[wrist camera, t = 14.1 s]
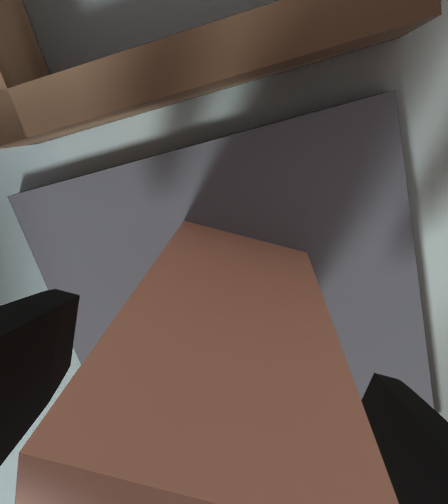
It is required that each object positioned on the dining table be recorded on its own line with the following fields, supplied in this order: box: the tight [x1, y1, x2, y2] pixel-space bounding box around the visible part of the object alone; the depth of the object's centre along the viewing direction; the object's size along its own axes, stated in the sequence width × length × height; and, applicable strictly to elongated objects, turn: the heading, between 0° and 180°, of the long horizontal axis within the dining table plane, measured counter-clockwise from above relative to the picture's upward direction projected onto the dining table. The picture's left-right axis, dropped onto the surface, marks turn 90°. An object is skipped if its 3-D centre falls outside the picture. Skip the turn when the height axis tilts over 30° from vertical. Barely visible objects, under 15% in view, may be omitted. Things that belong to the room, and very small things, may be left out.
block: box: [15, 221, 399, 504], centre depth 9 cm, size 4×4×9 cm
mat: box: [8, 90, 434, 409], centre depth 14 cm, size 12×12×1 cm
